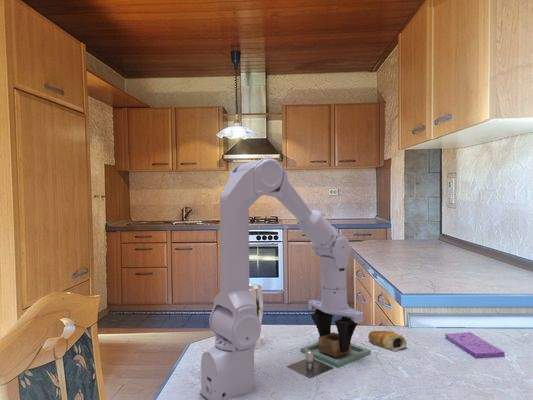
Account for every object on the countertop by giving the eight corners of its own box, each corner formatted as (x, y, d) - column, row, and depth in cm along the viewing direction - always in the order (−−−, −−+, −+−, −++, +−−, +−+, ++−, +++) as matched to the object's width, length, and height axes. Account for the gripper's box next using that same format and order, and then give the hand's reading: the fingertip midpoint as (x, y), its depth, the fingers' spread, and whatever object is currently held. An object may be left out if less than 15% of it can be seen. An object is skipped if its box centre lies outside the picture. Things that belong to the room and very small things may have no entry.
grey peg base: (310, 384, 70) (309, 361, 70) (286, 372, 75) (285, 350, 75) (334, 373, 74) (333, 352, 74) (310, 362, 80) (309, 342, 80)
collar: (335, 357, 78) (335, 343, 78) (318, 350, 82) (318, 337, 82) (350, 351, 81) (350, 337, 81) (333, 345, 85) (333, 332, 85)
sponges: (470, 339, 93) (470, 331, 93) (506, 359, 81) (505, 351, 81) (444, 340, 93) (444, 333, 93) (475, 361, 80) (475, 352, 80)
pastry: (361, 341, 92) (361, 326, 92) (381, 337, 95) (381, 322, 95) (388, 354, 84) (388, 337, 84) (410, 349, 87) (409, 333, 87)
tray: (337, 373, 74) (337, 364, 74) (300, 357, 83) (300, 348, 83) (370, 359, 81) (370, 350, 81) (333, 345, 89) (332, 337, 89)
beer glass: (251, 357, 83) (250, 291, 83) (229, 350, 87) (227, 288, 88) (269, 347, 89) (268, 285, 89) (247, 341, 93) (246, 282, 93)
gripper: (371, 289, 79) (373, 352, 78) (322, 279, 90) (323, 334, 90) (350, 294, 74) (352, 361, 74) (301, 283, 86) (302, 341, 86)
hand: (335, 347), depth 82 cm, fingers closed on collar, 5 cm apart
